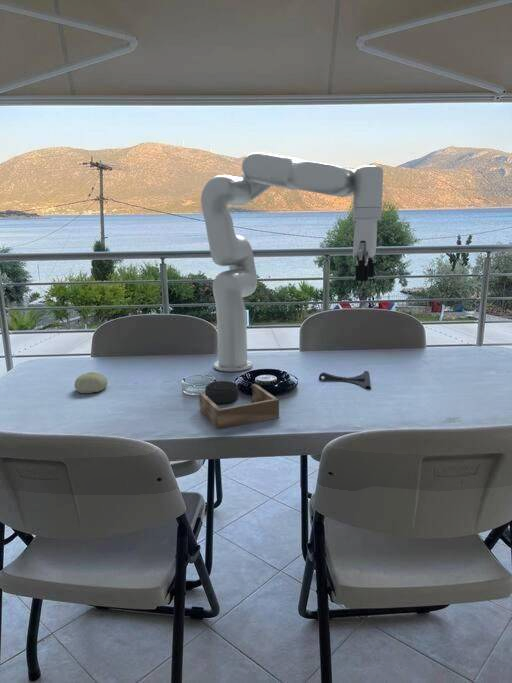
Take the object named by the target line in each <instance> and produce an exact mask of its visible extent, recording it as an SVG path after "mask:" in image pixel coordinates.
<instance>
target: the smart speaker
mask: <svg viewBox="0 0 512 683" xmlns="http://www.w3.org/2000/svg"><path fill="white" fill-rule="evenodd" d="M204 394H205V395H206V396H207V397H208V398H209V399H211V400H212V401H213V402H214V403H215V404H216V405H222V404H223V405H224V404H230V403H233V402H235V401H236V400H238V398H239V386H238V385H237V384H236V383H235V382H233V381H227V380H219V381H213V382H210V383H207V385H206V386H205V387H204Z"/></svg>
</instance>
